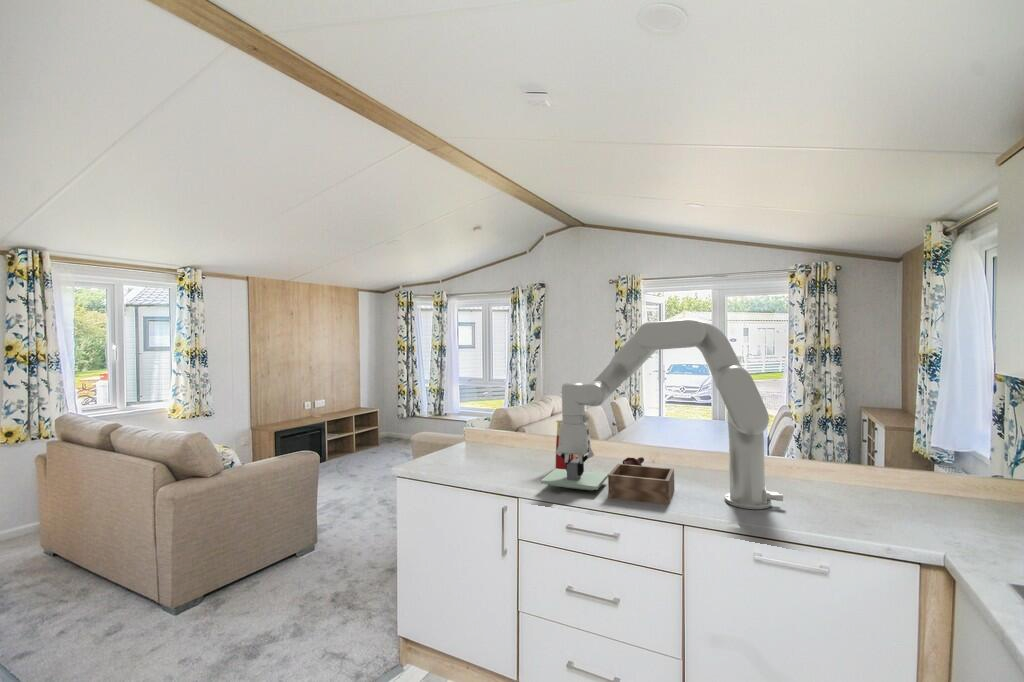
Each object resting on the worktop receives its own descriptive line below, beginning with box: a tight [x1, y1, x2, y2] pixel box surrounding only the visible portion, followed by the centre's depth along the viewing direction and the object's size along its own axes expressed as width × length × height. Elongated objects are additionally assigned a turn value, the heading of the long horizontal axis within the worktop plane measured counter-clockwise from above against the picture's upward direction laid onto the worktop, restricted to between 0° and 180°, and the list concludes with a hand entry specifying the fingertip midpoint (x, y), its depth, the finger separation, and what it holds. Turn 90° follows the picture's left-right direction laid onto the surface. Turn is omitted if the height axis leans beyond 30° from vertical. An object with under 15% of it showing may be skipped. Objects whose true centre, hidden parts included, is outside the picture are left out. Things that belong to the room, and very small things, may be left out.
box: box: [607, 463, 675, 506], centre depth 151 cm, size 18×14×8 cm
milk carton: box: [554, 419, 579, 470], centre depth 185 cm, size 9×9×20 cm
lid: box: [540, 459, 609, 492], centre depth 160 cm, size 19×15×7 cm
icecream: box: [622, 457, 645, 466], centre depth 174 cm, size 7×7×15 cm
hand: (575, 473), depth 160 cm, fingers closed on lid, 3 cm apart
